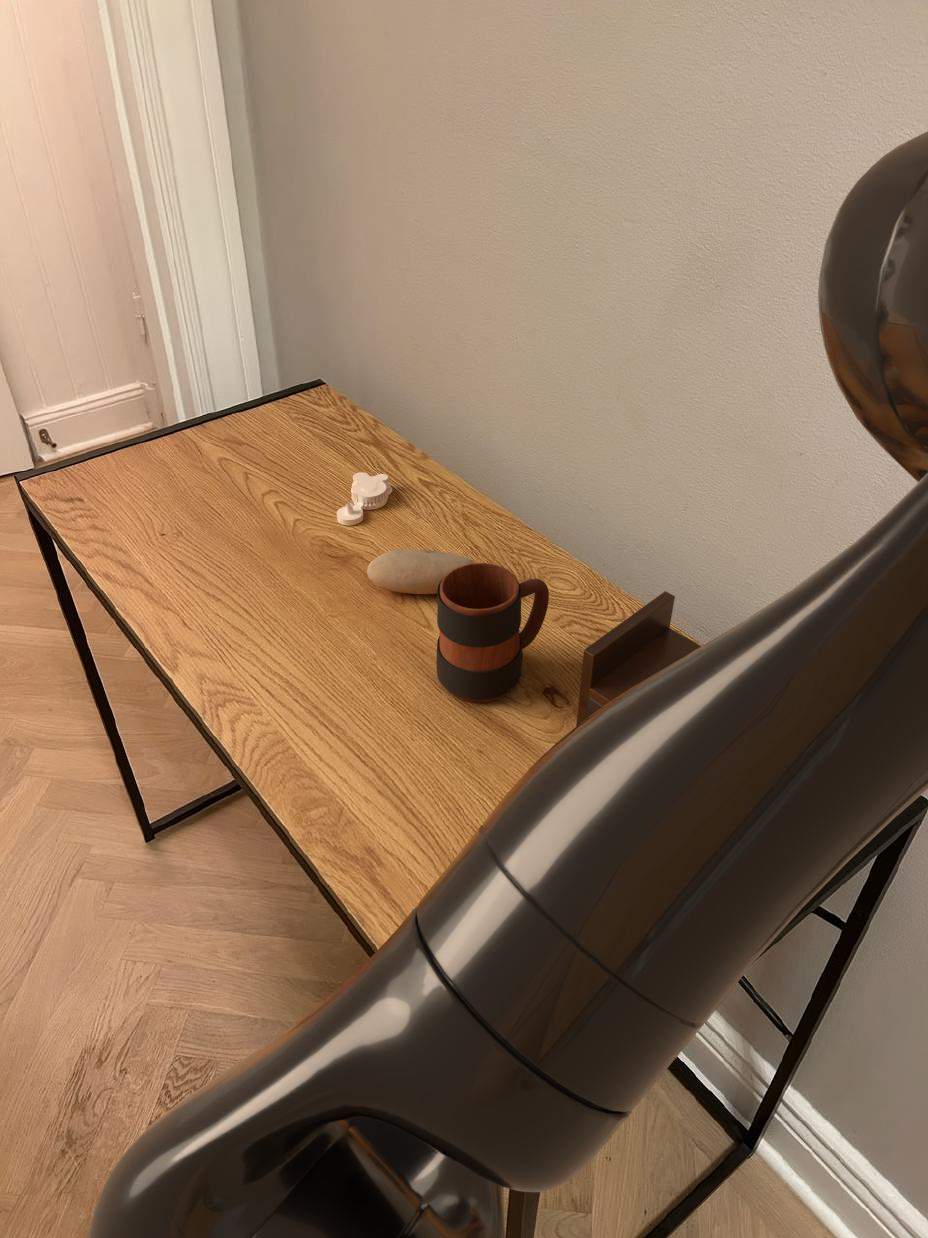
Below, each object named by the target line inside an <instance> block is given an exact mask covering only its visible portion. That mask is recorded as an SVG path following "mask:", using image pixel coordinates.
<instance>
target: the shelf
mask: <svg viewBox="0 0 928 1238" xmlns="http://www.w3.org/2000/svg"><path fill="white" fill-rule="evenodd" d="M675 599H676V596H675V595H674V594H671V593H670V592H668V591H666V590H664V591H663V592H662V593H660V594H659V595H657V596H656V597H655V598H653V599H652V600H651V601H649V602H648V603H646V604H645V605H644V606H642V607H641V608H639V609H638V610H637V611H635V612H634V613H632V614H631V615H630V616H628V617H627V618H626V619H625V620H624V621H622V622H620V623H619V624H618V625H616V626H614V627H613V628H611V630H609V631H607V633H605V634H604V635H602V636H601V637H599V638H598V639H597V640H595V641H593V642H592V643H591V644H590V645H589V646H587V647H585V648H584V649H583V655H582V664H581V673H580V675H581V676H580V684H579V695H578V706H577V714H576V715H577V718H576V726H578V725H579V724H580V723H581V722H583V721H584V720H585V719H587V718H588V717H589V716H591V715H592V714H594V713H595V712H596V711H598V710H599V709H600V708H602V707H603V706H604V705H606V704H607V703H609V702H610V701H612V700H614V699H615V698H617V697H618V696H620V695H621V694H623V693H624V692H626V691H627V690H629V689H630V688H632V687H634V686H635V685H637V684H639V683H640V682H642V681H644V680H645V679H647V678H649V677H650V676H652V675H654V674H656V673H657V672H659V671H661V670H662V669H664V668H666V667H667V666H669V665H671V664H672V663H674V662H676V661H677V660H679V659H681V658H683V657H684V656H686V655H688V654H689V653H691V652H693V651H694V650H696V649H698V648H700V647H701V646H702V645H700V644H698V643H697V642H696V641H694V640H692V639H689V638H688V637H686V636H685V635H683V634H681V633H679V632H677V631H675V630H674V629H672V628H671V622H672V617H673V616H672V615H673V611H674V606H675V605H674V604H675Z"/></svg>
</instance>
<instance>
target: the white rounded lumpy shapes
mask: <svg viewBox="0 0 928 1238" xmlns="http://www.w3.org/2000/svg"><path fill="white" fill-rule="evenodd" d="M392 474H393V473H390V475H392ZM352 479H353V480H352V481H353V482H352V483H351V488H350V492H351V496H350V497H351V500H352V502H353V503H352V502H347V503H345V505H344V506H342V507H340V508H339V509H338V510H337V511H336V521H337V522H338V523H339V524H340V525H343V526H348V527H349V526H355V525H358V524H361V522H362V521H363V520H364V510H365V511H366V510H367V511H372V510H373V511H374V510H377V509H380V508H382V507H384V506H385V505H386V504H387V502H388V499H389V497H390V496H389V495H391V494H392V492H393V487H392V486H391V483H390V482H389V475H387V474H386V473H378V474H376V475H369V474H368V473H367V472H364V471H363V472H361V471H360V472H356V473H354V474H353V476H352ZM390 479H391V480H392V479H393V477H391V478H390ZM353 504H354V505H353Z"/></svg>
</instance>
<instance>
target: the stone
mask: <svg viewBox="0 0 928 1238" xmlns="http://www.w3.org/2000/svg"><path fill="white" fill-rule="evenodd" d="M472 563H475V562H474V561H473V560H472V559H471V558H469V557H466V556H464V555H460V554H457V553H452V552H446V551H439V550H431V549H416V548H415V549H414V548H402V549H401V548H400V549H392V550H388V551H386V552H384V553H382V554H380V555H379V556H377V557H375V558H374V559H372V560H371V562H370V563H369V564H368V566H367V569H366V574H367V577H368V579H369V580H370V582H371V583H372V584H373V585H375V586H376V587H378V588H381V589H384V590H387V591H390V592H391V591H392V592H395V593H402V594H413V595H434V594H435V595H437V589H438V585H439V583H440V582H441V580H442V579H443V578H444V576H445V575H446V574H447V573H449V572H450V571H452V570H453V569H455V568H457V567H460V566H463V565H466V564H472Z"/></svg>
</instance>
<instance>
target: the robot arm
mask: <svg viewBox="0 0 928 1238" xmlns="http://www.w3.org/2000/svg"><path fill="white" fill-rule="evenodd" d="M827 235H828V236H827V238H826V240H825V243H824V248H823V254H822V259H821V264H820V269H819V270H820V271H819V276H818V292H817V298H818V299H817V300H818V301H817V303H818V317H819V327H820V332H821V338H822V342H823V347H824V351H825V354H826V357H827V361H828V365H829V367H830V369H831V372H832V375H833V377H834V380H835V382H836V384H837V386H838V389H839V390H840V392H841V394H842V396H843V398H844V399H845V401H846V402H847V404H848V406H849V408H850V410H851V411H852V413H853V414H854V416H855V418H856V420H857V421H858V422H859V423H860V425H861V426H862V427H863V428H864V429H865V430H866V432H868V434H869V436H870V437H872V438H873V440H874V441H875V442H876V443H877V444H878V445H879V446H880V447H881V448H882V449H883V451H884V452H886V453H887V454H888V455H889V456H890V457H891V458H892V459H893V460H894V461H895V462H896V463H897V464H898V466H900V467H901V468H902V469H903V470H904V471H906V473H907V474H908V475H909V476H910V477H912V478H913V479H914V480H915V481H916V482H917V483H916V484H915V485H914V486H913V487H912V488H911V489H910V490H909V491H908V492H907V493H906V494H905V495H904V496H903V497H902V498H901V499H900V500H899V501H898V502H897V503H896V504H895V505H894V506H893V507H892V508H891V509H890V510H889V511H888V512H886V514H885V515H884V516H883V517H882V518H880V519H879V520H878V521H877V522H876V523H874V525H872V526H871V527H870V528H869V529H868V531H866V532H865V533H864V534H863V535H862V536H861V537H859V538H858V539H857V540H856V541H854V542H853V543H852V544H851V545H849V546H848V547H847V548H845V549H844V550H843V551H841V552H840V553H839V554H837V555H836V556H834V558H832V559H831V560H829V561H828V562H827V563H825V564H824V565H823V566H821V567H820V568H819V569H818V570H816V571H815V572H814V573H812V574H810V576H808V577H807V578H806V579H804V580H802V581H801V582H800V583H798V585H796V586H795V587H794V588H792V589H791V590H789V591H788V592H786V593H784V594H782V596H780V597H779V598H777V599H775V600H774V601H772V602H771V603H769V604H767V605H765V606H764V607H762V608H761V609H760V610H758V611H757V612H756V613H754V614H752V615H751V616H749V617H748V618H746V619H744V620H743V621H741V622H740V623H739V624H736V625H734V627H732V628H730V629H729V630H727V631H725V632H723V633H722V634H720V635H718V636H717V637H715V638H713V639H711V640H709V641H708V642H706V643H705V644H703V645H700V646H701V647H700V648H698V649H696V650H694V651H693V652H691V653H689V654H688V655H686V656H684V657H683V658H681V659H679V660H677V661H676V662H674V663H672V664H671V665H669V666H667V667H666V668H664V669H662V670H661V671H659V672H657V673H656V674H654V675H652V676H650V677H649V678H647V679H645V680H644V681H642V682H640V683H639V684H637V685H635V686H634V687H632V688H630V689H629V690H627V691H626V692H624V693H623V694H621V695H620V696H618V697H617V698H615V699H614V700H612V701H610V702H609V703H607V704H606V705H604V706H603V707H602V708H600V709H599V710H598V711H596V712H595V713H594V714H592V715H591V716H589V717H588V718H587V719H585V720H584V721H583V722H581V723H580V724H579V725H578V726H577V725H576V726H575V727H574V728H572V729H571V730H570V731H569V732H568V733H566V734H565V735H564V736H563V737H562V738H561V739H559V741H557V742H555V744H554V745H552V746H551V748H549V749H548V750H547V751H546V752H545V753H544V754H543V755H542V756H541V757H540V758H539V759H538V760H537V761H536V762H535V763H533V765H532V766H530V767H529V769H528V770H527V771H526V772H525V773H524V774H523V776H521V778H520V779H519V780H518V781H517V782H516V783H515V784H514V785H513V786H512V788H510V789H509V791H508V792H507V793H506V794H505V795H504V797H503V798H502V799H501V800H500V802H499V803H498V804H497V805H496V807H494V809H492V811H491V812H490V814H489V815H488V817H486V819H485V820H484V821H483V822H482V824H481V825H480V826H479V828H478V829H477V830H476V831H475V832H474V833H473V835H472V836H471V837H470V839H469V840H468V841H467V842H466V844H465V845H464V846H463V847H462V848H461V850H460V851H459V852H458V853H457V855H456V856H455V857H454V859H452V861H451V862H450V863H449V865H447V867H446V868H445V870H444V871H443V872H442V873H441V875H440V876H439V877H438V878H437V879H436V881H434V883H433V884H432V886H431V887H430V888H429V889H428V890H427V891H426V893H425V894H424V895H423V897H422V898H421V899H420V901H419V902H418V903H417V905H416V906H415V907H414V908H413V909H412V910H411V912H410V913H409V914H408V915H407V916H406V917H405V919H404V920H403V921H402V922H401V923H400V925H398V927H397V928H396V929H395V931H394V932H393V933H392V934H391V935H390V936H389V937H388V938H387V940H385V942H383V944H382V945H381V946H380V947H379V948H378V949H377V950H376V951H375V952H374V953H373V954H372V955H371V956H370V958H369V959H368V960H367V961H366V962H365V963H364V964H363V965H361V967H359V968H358V969H357V970H356V971H355V972H354V973H353V974H352V975H351V976H350V977H349V978H348V979H347V980H346V981H345V982H343V984H341V986H340V987H338V988H337V989H336V990H335V991H334V992H332V993H331V994H330V995H329V996H327V997H326V998H325V999H324V1000H322V1001H321V1002H320V1003H319V1004H318V1005H317V1006H315V1007H314V1008H313V1009H312V1010H311V1011H309V1012H307V1014H305V1016H303V1017H302V1018H300V1019H299V1020H297V1021H296V1022H294V1023H293V1024H292V1025H290V1026H289V1027H288V1028H287V1029H285V1030H284V1031H282V1032H281V1033H280V1034H279V1035H278V1036H276V1037H274V1038H273V1039H271V1040H270V1041H269V1042H267V1043H266V1044H264V1045H263V1046H261V1047H259V1048H258V1049H256V1050H254V1051H253V1052H252V1053H250V1054H249V1055H247V1056H246V1057H244V1058H243V1059H241V1060H240V1061H237V1062H236V1063H235V1064H234V1065H232V1066H230V1067H229V1068H227V1069H226V1070H225V1071H223V1072H221V1073H220V1074H219V1075H217V1076H215V1077H214V1078H212V1079H210V1080H209V1081H208V1082H206V1083H205V1084H204V1085H202V1086H200V1087H199V1088H198V1089H196V1090H195V1091H193V1092H192V1093H190V1094H189V1095H188V1096H186V1097H185V1098H183V1099H182V1100H181V1101H180V1102H178V1103H177V1104H176V1105H175V1106H172V1108H170V1109H169V1110H167V1112H165V1113H164V1114H163V1115H161V1116H160V1117H159V1118H158V1119H156V1120H155V1121H154V1122H153V1123H151V1125H149V1126H148V1128H147V1129H145V1130H144V1131H143V1132H142V1133H141V1135H139V1136H138V1137H137V1138H136V1139H135V1141H133V1143H132V1144H130V1146H129V1147H128V1148H127V1149H126V1150H125V1152H124V1153H123V1154H122V1156H121V1157H120V1158H119V1160H118V1162H117V1163H116V1165H115V1166H114V1168H113V1169H112V1170H111V1171H110V1174H109V1176H108V1178H107V1180H106V1181H105V1183H104V1185H103V1187H102V1189H101V1192H100V1194H99V1195H98V1199H97V1201H96V1204H95V1207H94V1210H93V1214H92V1218H91V1222H90V1227H89V1231H88V1235H87V1238H506V1231H505V1230H506V1226H505V1206H504V1188H506V1189H509V1190H514V1191H517V1192H521V1193H541V1192H546V1191H549V1190H553V1189H556V1188H558V1187H560V1186H562V1185H563V1184H565V1183H566V1182H568V1181H570V1180H571V1179H573V1178H574V1177H575V1176H576V1175H577V1174H578V1173H579V1172H581V1170H582V1169H583V1168H585V1167H586V1166H587V1165H588V1164H589V1163H590V1162H591V1161H592V1160H593V1159H594V1158H595V1156H596V1155H597V1154H598V1153H599V1152H600V1151H601V1150H602V1148H603V1147H604V1146H605V1145H606V1144H607V1143H608V1142H609V1141H610V1139H611V1138H612V1137H613V1135H614V1134H615V1133H616V1132H617V1131H618V1130H619V1128H620V1127H621V1126H622V1125H623V1123H624V1122H625V1121H626V1120H627V1118H628V1117H629V1116H630V1114H631V1113H632V1111H633V1110H634V1109H636V1107H637V1106H638V1105H639V1104H640V1102H642V1100H643V1099H644V1098H645V1096H646V1095H647V1094H648V1093H649V1092H650V1090H651V1089H652V1088H653V1087H654V1086H655V1084H656V1083H657V1082H658V1080H660V1078H661V1077H662V1076H663V1074H664V1073H665V1072H666V1071H667V1070H668V1069H669V1067H670V1066H671V1065H672V1064H673V1062H674V1061H675V1060H676V1059H677V1057H679V1055H681V1053H682V1052H683V1050H684V1049H685V1048H686V1047H687V1046H688V1044H689V1043H690V1042H691V1040H692V1039H693V1038H694V1036H696V1034H697V1033H698V1032H699V1031H700V1030H701V1028H702V1027H703V1026H704V1024H705V1023H707V1021H709V1019H710V1018H711V1017H712V1015H713V1014H714V1013H715V1012H716V1010H717V1009H718V1008H719V1007H720V1005H721V1004H722V1003H723V1002H724V1000H726V998H727V996H728V995H730V993H731V992H732V990H733V989H734V988H735V987H736V986H737V984H738V983H739V982H740V981H741V979H742V978H743V977H744V976H745V974H746V973H747V972H748V970H749V969H750V968H751V967H752V965H753V964H754V963H755V962H756V961H757V959H758V958H759V957H760V956H761V955H762V954H763V953H764V952H765V951H766V949H767V948H768V947H769V946H770V945H771V944H772V942H774V940H776V938H777V937H778V936H779V935H781V933H782V931H784V929H785V928H786V927H787V926H788V925H789V924H790V922H791V921H792V920H793V919H794V918H795V917H796V916H797V915H798V914H799V912H801V910H802V909H803V908H804V907H805V906H806V905H807V904H808V903H809V902H810V901H811V900H812V899H813V898H814V897H815V896H816V895H817V894H818V893H819V892H820V891H821V890H822V889H823V888H824V887H825V886H826V885H827V884H828V883H829V882H830V881H831V880H832V879H833V878H834V877H835V876H836V875H837V873H839V872H840V871H841V870H842V869H843V867H845V866H846V864H848V863H849V862H850V861H851V859H853V858H854V857H855V856H856V855H857V854H858V853H859V852H860V851H862V850H863V849H864V847H866V845H868V844H869V843H870V842H871V841H872V840H873V839H874V838H875V837H876V836H877V835H878V834H879V833H880V832H881V831H883V829H885V828H886V827H887V826H888V825H889V824H890V823H891V822H892V821H893V820H894V819H895V818H897V817H898V816H899V815H900V814H901V813H903V811H905V810H906V809H907V808H908V807H909V806H910V805H911V804H913V802H915V801H916V800H917V799H918V798H919V797H921V795H923V794H924V793H925V792H927V790H928V131H925V132H923V133H921V134H918V135H917V136H914V137H913V138H911V139H908V140H907V141H905V142H903V143H901V144H899V145H897V146H896V147H894V148H892V149H891V150H890V151H889V152H887V153H885V154H884V155H882V157H881V158H879V159H878V160H877V161H876V162H875V163H874V164H873V165H871V166H870V168H869V169H868V170H867V171H866V172H864V174H862V176H860V178H859V179H857V180H856V182H855V183H854V185H853V186H852V187H851V189H850V190H849V192H848V193H847V194H846V196H845V197H844V200H843V201H842V202H841V205H840V207H839V208H838V211H836V214H835V217H834V220H833V222H832V225H831V227H830V230H829V232H828V234H827Z"/></svg>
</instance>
